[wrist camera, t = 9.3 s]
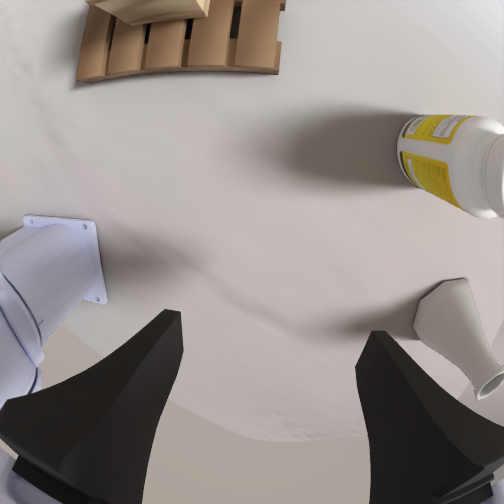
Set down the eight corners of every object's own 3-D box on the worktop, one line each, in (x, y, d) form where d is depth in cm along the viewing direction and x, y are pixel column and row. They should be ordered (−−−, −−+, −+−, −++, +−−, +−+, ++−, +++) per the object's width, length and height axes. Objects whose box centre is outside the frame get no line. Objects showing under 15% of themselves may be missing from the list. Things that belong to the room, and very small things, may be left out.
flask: (472, 265, 19) (536, 332, 10) (469, 321, 22) (513, 388, 13) (408, 294, 21) (460, 382, 12) (412, 348, 23) (446, 427, 14)
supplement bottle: (446, 195, 17) (534, 249, 8) (388, 178, 17) (475, 229, 8) (459, 128, 15) (557, 148, 6) (400, 104, 15) (499, 99, 6)
